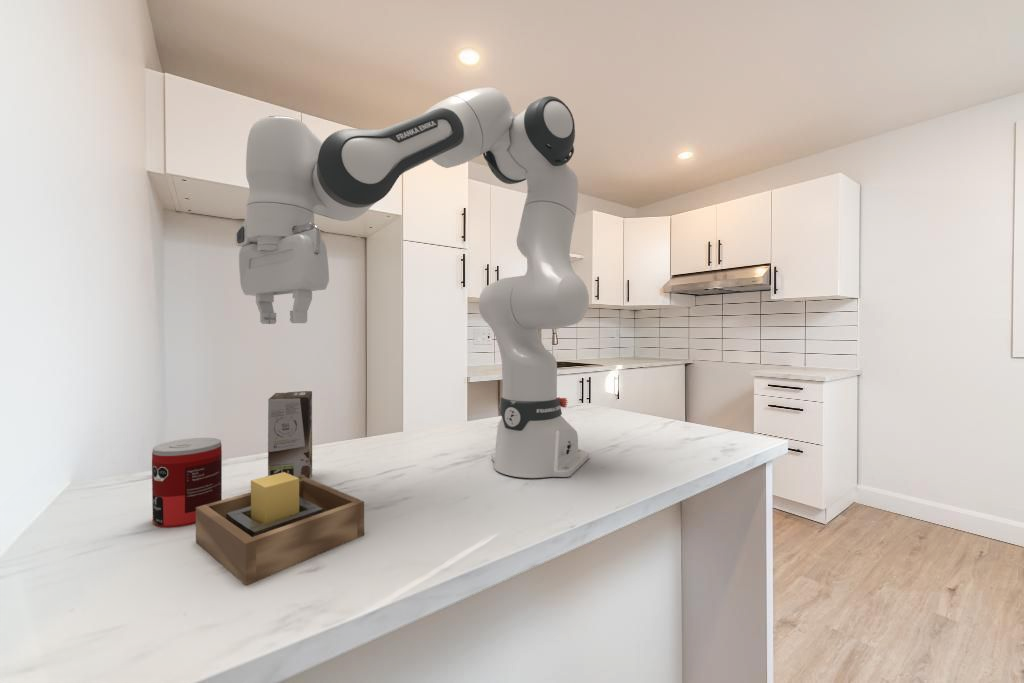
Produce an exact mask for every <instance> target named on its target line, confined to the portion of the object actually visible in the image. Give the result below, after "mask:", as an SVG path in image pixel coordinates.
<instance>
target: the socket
mask: <svg viewBox="0 0 1024 683" xmlns="http://www.w3.org/2000/svg"><path fill="white" fill-rule="evenodd" d="M320 513H323V509H322V508H320V507H318V506H317V505H315V504H313V503H311V502H309V501H306V500H304V499H302V498H300V497H299V513H296V514H293V515H290V516H287V517H284V518H281V519H278V520H275V521H272V522H269V523H266V524H263V525H260V524H258V523H257V522H255V521H253V520H252V519H251V506H249V507H246V508H242V509H239V510H235V511H232V512H229V513H226V519H227V520H228V521H229V522H231V523H232V524H234V525H235V526H237V527H238V528H240V529H241V530H242V531H244V532H245V533H247V534H248V535H250V536H251V537H254V536H257V535H260V534H263V533H265V532H268V531H271V530H274V529H277V528H280V527H283V526H286V525H288V524H291V523H294V522H297V521H300V520H303V519H306V518H309V517H311V516H314V515H317V514H320Z"/></svg>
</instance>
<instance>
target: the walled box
mask: <svg viewBox="0 0 1024 683" xmlns="http://www.w3.org/2000/svg"><path fill="white" fill-rule="evenodd" d="M299 497H300V498H302V499H304V500H306V501H309V502H311V503H313V504H315V505H317V506H318V507H320V508H322V509H323V513H320V514H317V515H314V516H311V517H309V518H306V519H303V520H300V521H297V522H294V523H291V524H288V525H286V526H283V527H280V528H277V529H274V530H271V531H268V532H265V533H263V534H260V535H257V536H254V537H251V536H250V535H248V534H247V533H245V532H244V531H242V530H241V529H240V528H238V527H237V526H235V525H234V524H232V523H231V522H229V521H228V520H227V519H226V513H229V512H232V511H235V510H239V509H242V508H246V507H249V506H251V491H250V492H247V493H243V494H240V495H236V496H232V497H229V498H228V497H227V498H225V499H222V500H221V501H217V502H213V503H209V504H206V505H202V506H198V507H196V524H195V543H196V544H197V545H198V546H199V547H201V548H202V550H204V551H205V552H206V553H207V554H208V555H210V556H211V557H212V558H213V559H214V560H215V561H216V562H218V563H219V564H220V565H221V566H222V567H223V568H225V569H226V570H227V571H228V572H229V573H230V574H232V575H233V576H234V577H235V578H236V579H237V580H238V581H240V582H241V583H242V584H243V585H244V586H246V587H247V586H249V585H251V584H254V583H256V582H258V581H260V580H263V579H265V578H268V577H270V576H272V575H275V574H277V573H279V572H282V571H284V570H286V569H288V568H291V567H294V566H296V565H299V564H300V563H303V562H305V561H307V560H309V559H312V558H314V557H316V556H319V555H321V554H323V553H326V552H329V551H330V550H333V549H335V548H338V547H341V546H342V545H345V544H347V543H349V542H352V541H354V540H357V539H359V538H361V537H363V536H365V501H364V500H361V499H359V498H357V497H355V496H352V495H350V494H347V493H345V492H343V491H340V490H337V489H335V488H333V487H330V486H328V485H325V484H323V483H321V482H319V481H316V480H313V479H312V478H311V479H309V478H307V477H306V478H302V479H299Z"/></svg>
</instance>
